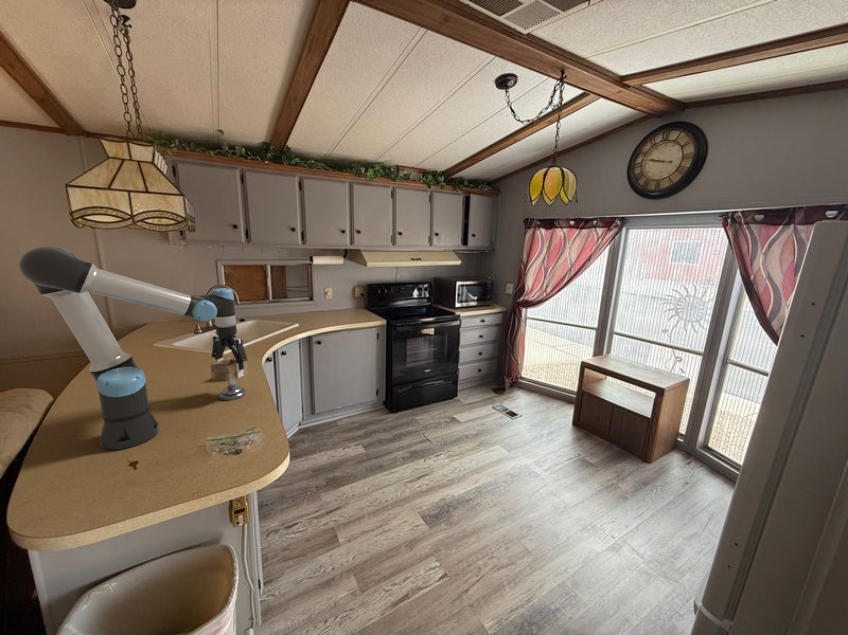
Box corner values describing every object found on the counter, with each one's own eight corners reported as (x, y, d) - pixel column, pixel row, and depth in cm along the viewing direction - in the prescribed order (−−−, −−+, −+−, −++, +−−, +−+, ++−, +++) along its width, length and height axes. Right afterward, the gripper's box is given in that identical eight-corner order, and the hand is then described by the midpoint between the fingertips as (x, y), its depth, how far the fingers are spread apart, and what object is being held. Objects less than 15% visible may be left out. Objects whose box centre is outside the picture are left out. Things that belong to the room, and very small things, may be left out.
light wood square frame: (229, 381, 138) (228, 367, 137) (211, 377, 141) (210, 364, 140) (249, 372, 148) (248, 360, 146) (231, 369, 151) (230, 357, 149)
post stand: (231, 402, 140) (229, 377, 138) (213, 398, 143) (211, 374, 141) (250, 392, 149) (248, 369, 147) (233, 389, 152) (231, 366, 150)
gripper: (254, 325, 140) (258, 375, 144) (213, 321, 147) (218, 368, 151) (239, 329, 133) (244, 381, 137) (197, 324, 140) (203, 374, 144)
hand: (230, 374), depth 144 cm, fingers closed on light wood square frame, 10 cm apart
